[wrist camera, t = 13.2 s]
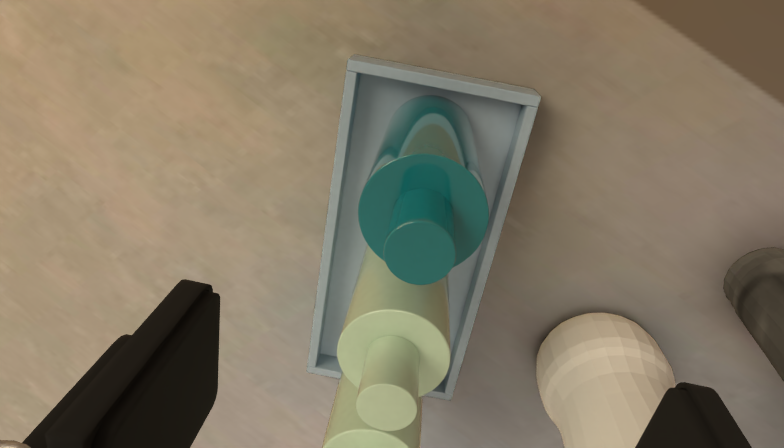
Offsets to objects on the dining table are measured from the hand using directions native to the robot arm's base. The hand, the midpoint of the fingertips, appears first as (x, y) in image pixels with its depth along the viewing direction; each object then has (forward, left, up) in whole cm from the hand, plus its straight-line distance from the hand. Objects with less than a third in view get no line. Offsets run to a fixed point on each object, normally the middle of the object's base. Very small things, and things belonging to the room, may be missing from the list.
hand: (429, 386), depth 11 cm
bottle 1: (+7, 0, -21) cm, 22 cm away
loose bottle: (+1, 0, -21) cm, 21 cm away
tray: (+7, 0, -21) cm, 23 cm away
